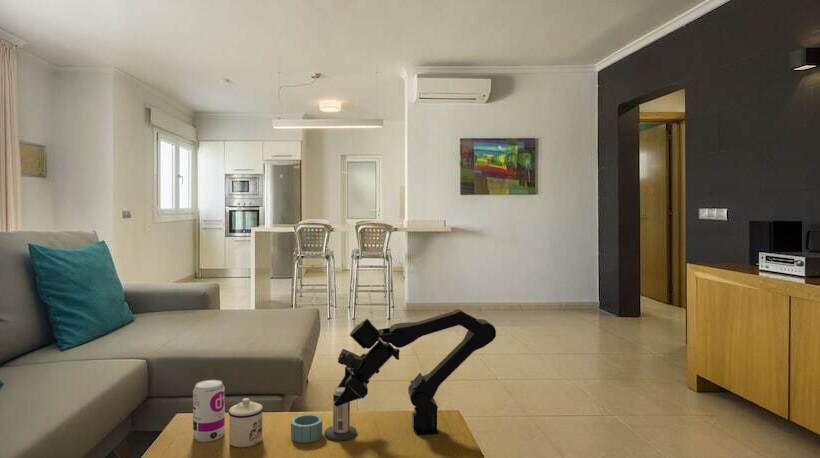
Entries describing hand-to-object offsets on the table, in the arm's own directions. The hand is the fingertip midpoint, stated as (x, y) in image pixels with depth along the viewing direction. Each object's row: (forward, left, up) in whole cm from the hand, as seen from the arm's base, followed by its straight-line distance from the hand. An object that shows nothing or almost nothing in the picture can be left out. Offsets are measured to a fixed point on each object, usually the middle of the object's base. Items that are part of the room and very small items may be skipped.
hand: (335, 399), depth 145 cm
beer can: (-2, 0, -9) cm, 10 cm away
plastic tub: (+8, 0, -10) cm, 13 cm away
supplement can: (+35, -4, -10) cm, 37 cm away
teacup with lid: (+24, -1, -10) cm, 26 cm away
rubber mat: (-1, 0, -10) cm, 10 cm away
